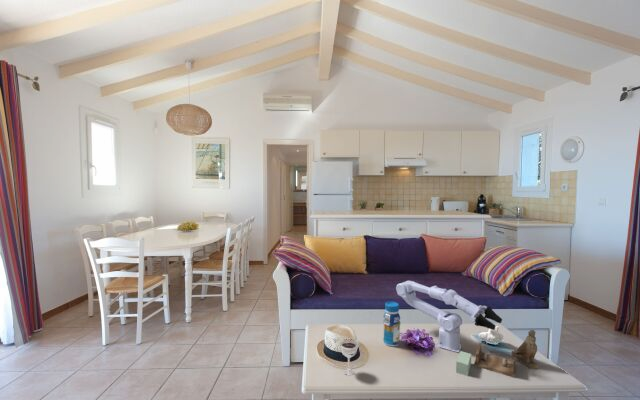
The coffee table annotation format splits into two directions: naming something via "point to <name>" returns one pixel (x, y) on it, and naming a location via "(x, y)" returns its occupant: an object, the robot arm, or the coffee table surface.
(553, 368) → the coffee table surface
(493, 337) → the bust
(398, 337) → the beverage bottle
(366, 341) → the coffee table surface
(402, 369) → the coffee table surface
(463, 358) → the pale green rectangular block
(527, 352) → the brown carved statuette
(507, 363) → the shelf frame
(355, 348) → the wineglass
